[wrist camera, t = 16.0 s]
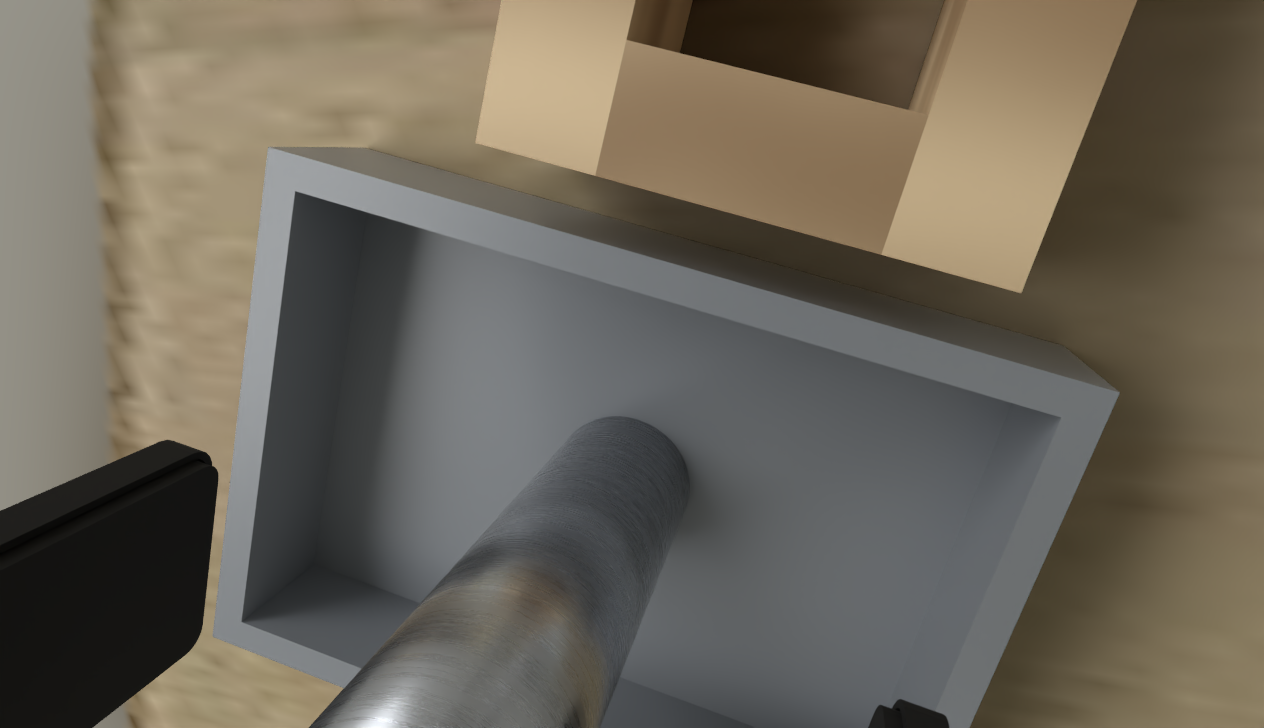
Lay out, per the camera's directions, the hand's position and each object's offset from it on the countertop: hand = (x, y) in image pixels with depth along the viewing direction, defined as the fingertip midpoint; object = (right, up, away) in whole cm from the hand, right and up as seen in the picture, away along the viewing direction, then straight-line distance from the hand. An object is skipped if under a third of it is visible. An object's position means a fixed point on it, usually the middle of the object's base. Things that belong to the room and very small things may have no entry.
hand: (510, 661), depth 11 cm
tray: (+2, +2, +6) cm, 7 cm away
